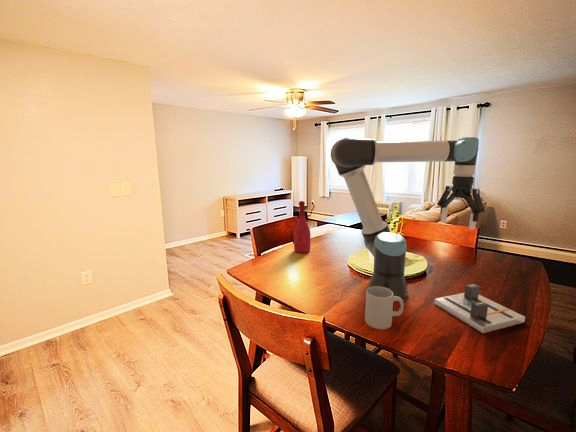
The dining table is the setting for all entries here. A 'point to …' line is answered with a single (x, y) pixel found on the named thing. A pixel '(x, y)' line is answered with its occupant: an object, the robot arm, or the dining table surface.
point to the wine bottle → (302, 232)
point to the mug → (381, 307)
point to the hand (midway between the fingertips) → (456, 225)
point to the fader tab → (471, 291)
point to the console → (479, 312)
